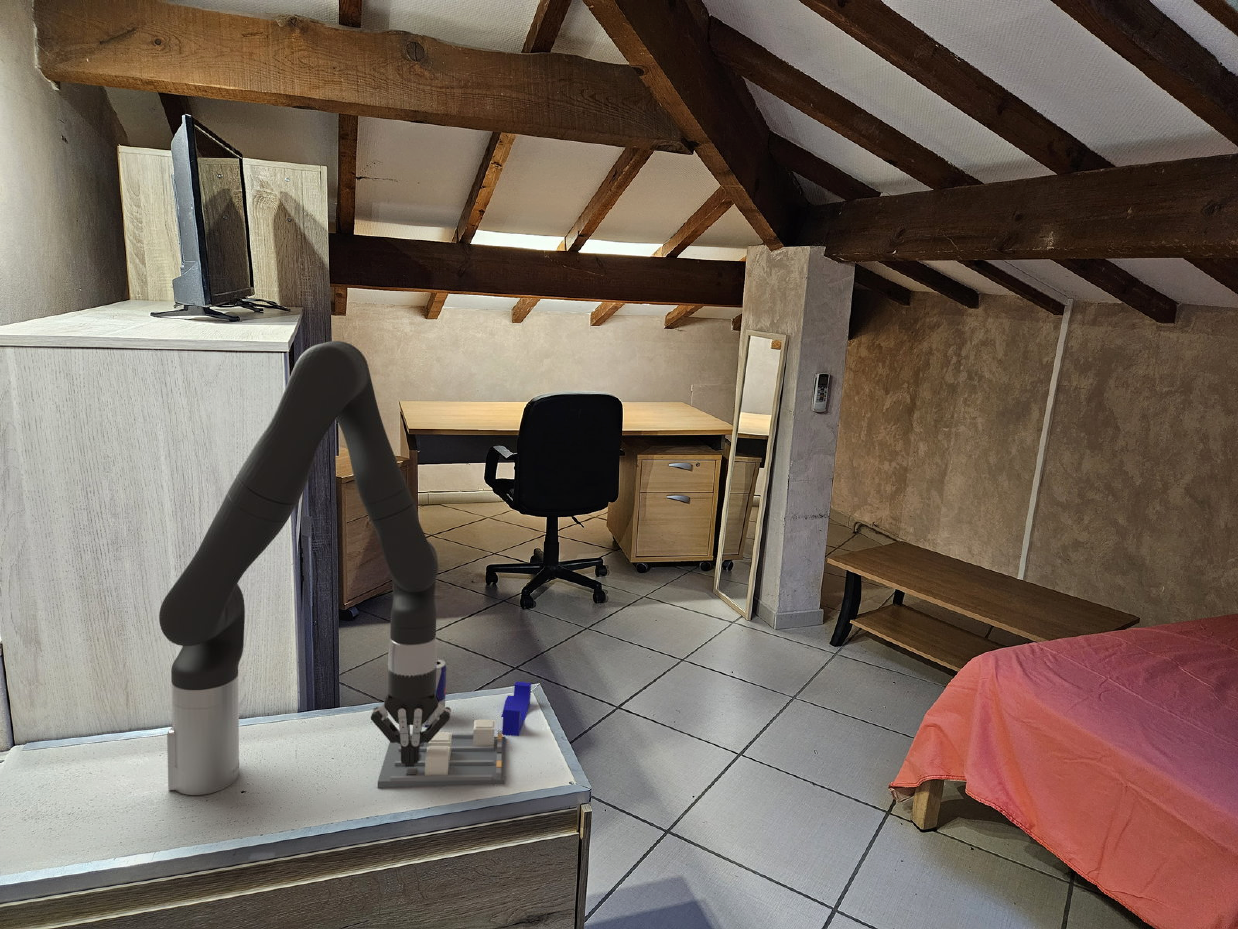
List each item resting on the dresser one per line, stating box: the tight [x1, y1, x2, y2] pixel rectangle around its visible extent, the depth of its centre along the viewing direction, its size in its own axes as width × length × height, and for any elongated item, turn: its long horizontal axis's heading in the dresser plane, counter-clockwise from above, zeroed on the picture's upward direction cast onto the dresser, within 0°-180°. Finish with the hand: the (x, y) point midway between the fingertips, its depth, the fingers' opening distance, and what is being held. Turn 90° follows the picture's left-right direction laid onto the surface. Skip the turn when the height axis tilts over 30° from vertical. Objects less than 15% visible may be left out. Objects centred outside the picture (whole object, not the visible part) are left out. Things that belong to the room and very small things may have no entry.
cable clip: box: [500, 681, 532, 737], centre depth 147 cm, size 12×4×6 cm, turn 176°
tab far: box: [473, 719, 496, 746], centre depth 137 cm, size 4×3×4 cm
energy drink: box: [422, 658, 447, 728], centre depth 144 cm, size 5×5×12 cm
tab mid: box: [428, 731, 453, 760], centre depth 131 cm, size 4×3×4 cm
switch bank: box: [377, 729, 506, 789], centre depth 132 cm, size 20×14×3 cm
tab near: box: [425, 746, 450, 775], centre depth 127 cm, size 4×3×4 cm
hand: (410, 764), depth 126 cm, fingers closed
